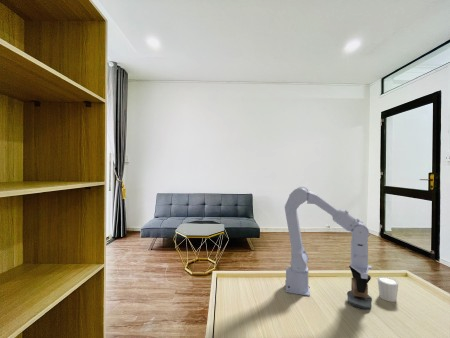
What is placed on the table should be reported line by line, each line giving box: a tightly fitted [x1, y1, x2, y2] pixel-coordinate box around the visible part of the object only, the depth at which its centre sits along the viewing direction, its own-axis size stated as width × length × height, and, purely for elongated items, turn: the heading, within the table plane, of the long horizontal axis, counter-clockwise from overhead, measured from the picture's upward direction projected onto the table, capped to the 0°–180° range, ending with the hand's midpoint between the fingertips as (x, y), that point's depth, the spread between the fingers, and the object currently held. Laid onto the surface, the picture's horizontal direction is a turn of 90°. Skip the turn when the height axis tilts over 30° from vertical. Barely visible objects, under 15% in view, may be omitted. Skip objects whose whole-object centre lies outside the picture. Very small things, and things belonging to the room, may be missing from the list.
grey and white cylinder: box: [377, 276, 399, 303], centre depth 91 cm, size 7×7×7 cm
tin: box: [346, 289, 373, 311], centre depth 87 cm, size 8×8×3 cm
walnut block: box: [350, 277, 369, 298], centre depth 87 cm, size 4×4×5 cm
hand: (359, 288), depth 87 cm, fingers closed on walnut block, 4 cm apart
